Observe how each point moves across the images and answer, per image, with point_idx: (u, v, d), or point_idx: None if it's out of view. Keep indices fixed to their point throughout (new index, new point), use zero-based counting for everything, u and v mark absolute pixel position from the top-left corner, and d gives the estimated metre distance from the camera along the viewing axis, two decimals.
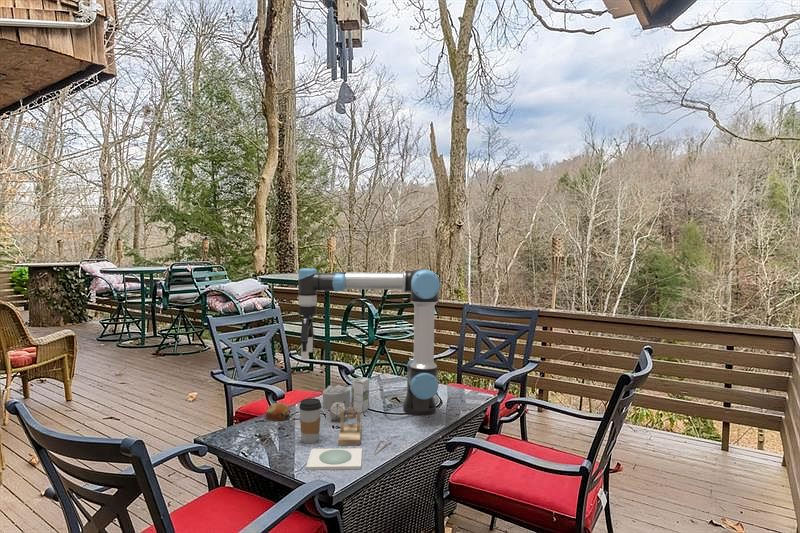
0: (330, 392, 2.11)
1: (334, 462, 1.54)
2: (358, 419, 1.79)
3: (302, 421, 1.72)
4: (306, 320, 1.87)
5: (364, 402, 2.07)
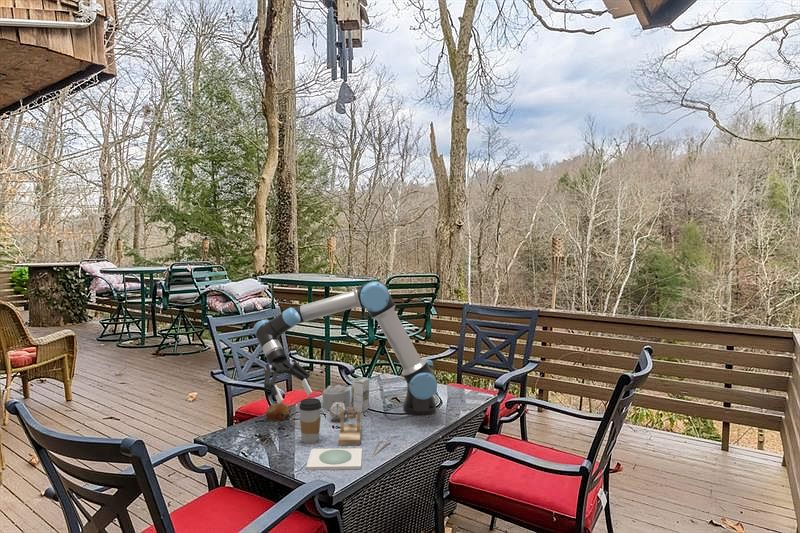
0: (330, 392, 2.11)
1: (334, 462, 1.54)
2: (358, 419, 1.79)
3: (302, 421, 1.72)
4: (265, 366, 1.82)
5: (364, 402, 2.07)
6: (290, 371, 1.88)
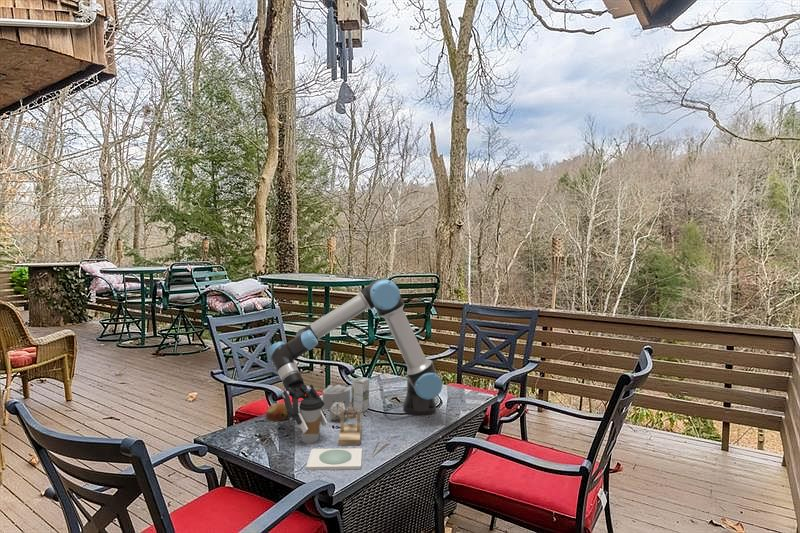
0: (330, 392, 2.12)
1: (334, 462, 1.54)
2: (358, 419, 1.79)
3: None
4: (283, 393, 1.75)
5: (364, 402, 2.07)
6: (305, 397, 1.81)
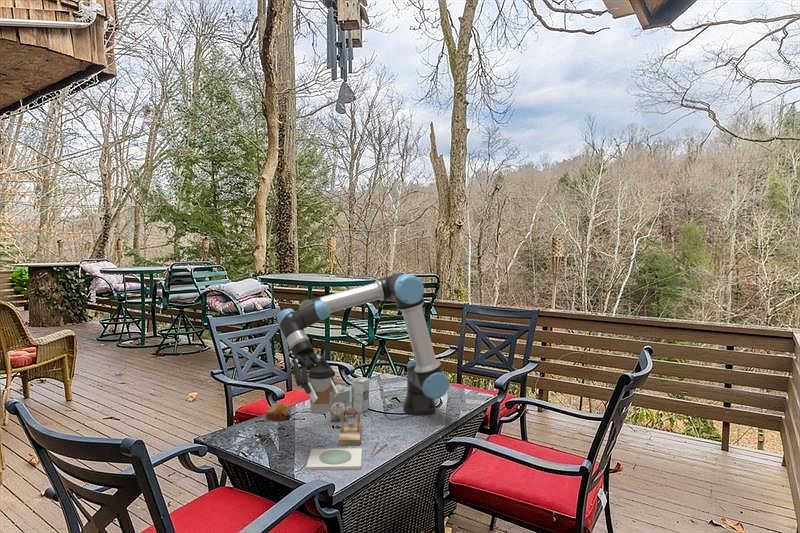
0: None
1: (334, 462, 1.54)
2: (358, 419, 1.79)
3: None
4: (292, 361, 1.65)
5: (364, 402, 2.07)
6: (315, 366, 1.70)
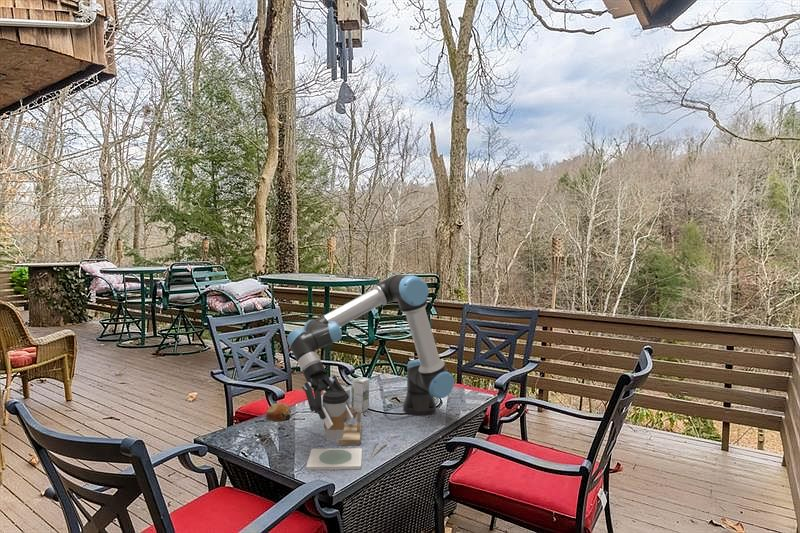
0: None
1: (334, 462, 1.54)
2: (358, 419, 1.79)
3: None
4: (305, 385, 1.58)
5: (364, 402, 2.07)
6: (329, 389, 1.64)
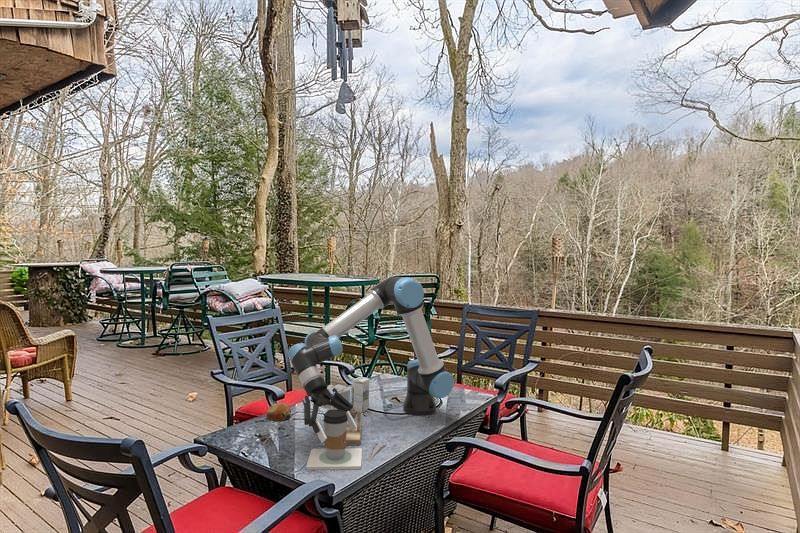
0: None
1: (334, 462, 1.54)
2: (358, 419, 1.79)
3: (327, 435, 1.56)
4: (304, 398, 1.59)
5: (364, 402, 2.07)
6: (331, 403, 1.65)
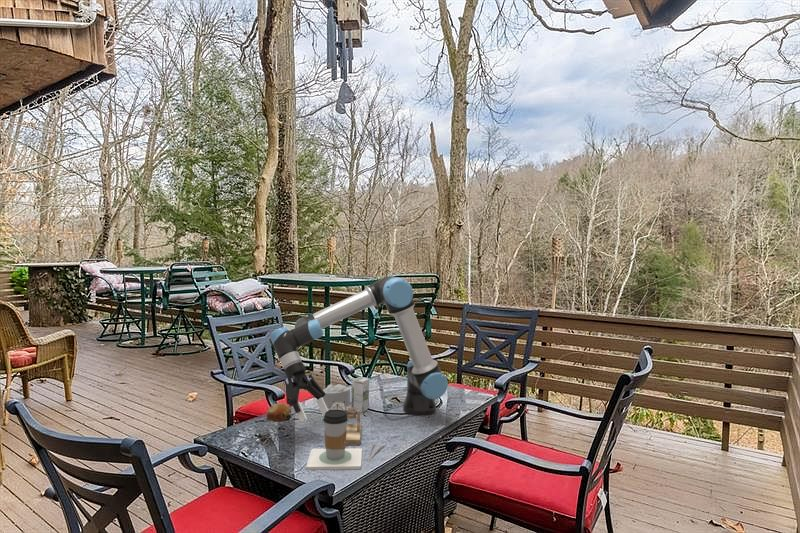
0: (330, 391, 2.13)
1: (334, 462, 1.54)
2: (358, 419, 1.79)
3: (327, 435, 1.56)
4: (287, 379, 1.68)
5: (364, 402, 2.07)
6: (307, 387, 1.75)
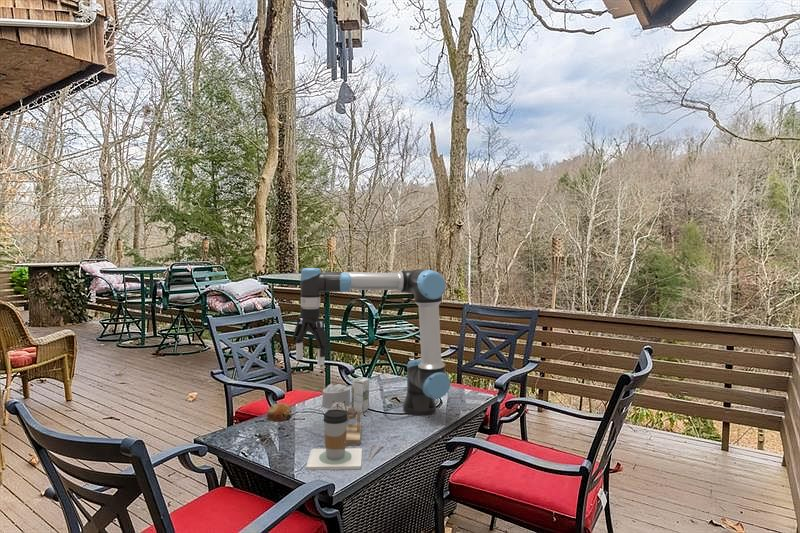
0: (329, 391, 2.13)
1: (334, 462, 1.54)
2: (358, 419, 1.79)
3: (327, 435, 1.56)
4: (322, 323, 1.75)
5: (364, 402, 2.07)
6: (305, 331, 1.81)
